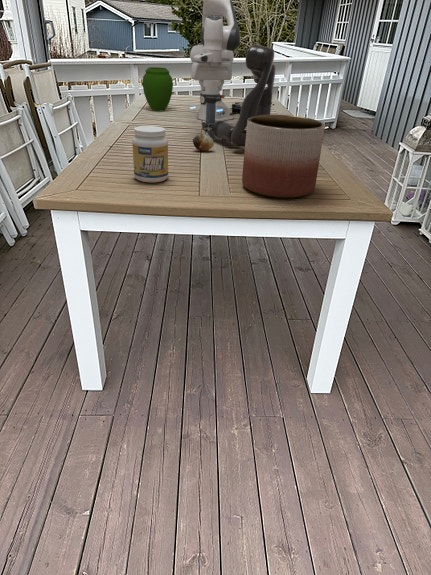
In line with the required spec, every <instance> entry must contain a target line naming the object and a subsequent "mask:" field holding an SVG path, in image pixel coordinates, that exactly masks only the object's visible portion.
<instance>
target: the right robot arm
mask: <svg viewBox="0 0 431 575" xmlns="http://www.w3.org/2000/svg"><path fill="white" fill-rule="evenodd" d="M274 59H275V50H274V49H273V48H272V47H269V46H264V45H260V44H255V43H254V44H251V45H250V46H249V47H248V49H247V51H246V54H245V66H246V68H247V69H248V70H250V72H251V74H252V78H253V82H254V83H255V84H256V85H255V86H254V87H253V88H252V89H251V91H249V92H248V94H246V96H245V98H244V99H243V101H242V102H243V103H242V107H241V111H240V114H239V116H238V119H237V121H236V123H235V125H232V124H231V123H229V122H226V121H215V123H206V121H202V122H201V127H202V128H201V130H203V131H204V132H205V131H207V130H209V131H212V132H213V133H214V135H215V136H214V137H217V138H219V139H221V140H223V141H227V142H229V143H231V145H232V146H234V147H241V148H245V142H246V131H247V120H248V118H250V117H252V116H257V115H271V113H272V112H271V111H272V104H271V103H273V91H274V85H275V78H276V69H277V68H276V65H275V64H274ZM266 85H267V86H266ZM207 126H208V127H207Z"/></svg>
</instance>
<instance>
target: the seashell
mask: <svg viewBox="0 0 431 575" xmlns="http://www.w3.org/2000/svg"><path fill="white" fill-rule="evenodd" d="M192 143H193V147H195V149H196V150H198V151H201V152H207V151H209V150H211V149H212V148H213V147H214V145H215V142H214V138H211V137H210V136H209V135H208V133H207V132H205V131H204V132H202V133H199V134H197V135H196V136H195V137H193V139H192Z"/></svg>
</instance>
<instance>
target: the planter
mask: <svg viewBox="0 0 431 575" xmlns="http://www.w3.org/2000/svg"><path fill="white" fill-rule="evenodd" d="M246 130H247V131H246V142H245V147H244V152H243V162H242V163H243V164H242V174H241V182H242V185H243V186H244V187H245V188H246V189H247V190H249V191H250V192H251V193H255V194H257V195H259V196H264V197H268V198H275V199H296V198H301V197H304V196H307V195H309V194H311V193H312V192H314V190H315V188H316V184H317V178H318V173H319V167H320V166H319V165H320V160H321V154H322V149H323V148H322V147H323V141H324V135H325V130H326V124H325V122H322V121H321V120H318V119H314V118H311V117H306V116H300V115H292V114H291V115H290V114H270V115H257V116H252V117H250V118H248V120H247V127H246Z"/></svg>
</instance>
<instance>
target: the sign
mask: <svg viewBox="0 0 431 575" xmlns="http://www.w3.org/2000/svg"><path fill="white" fill-rule="evenodd" d="M242 103H243V101H238V102H237V101H236V102H234V103H231V113H235V112H238V113H237V114H239V115H240V111H241V107H242Z"/></svg>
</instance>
